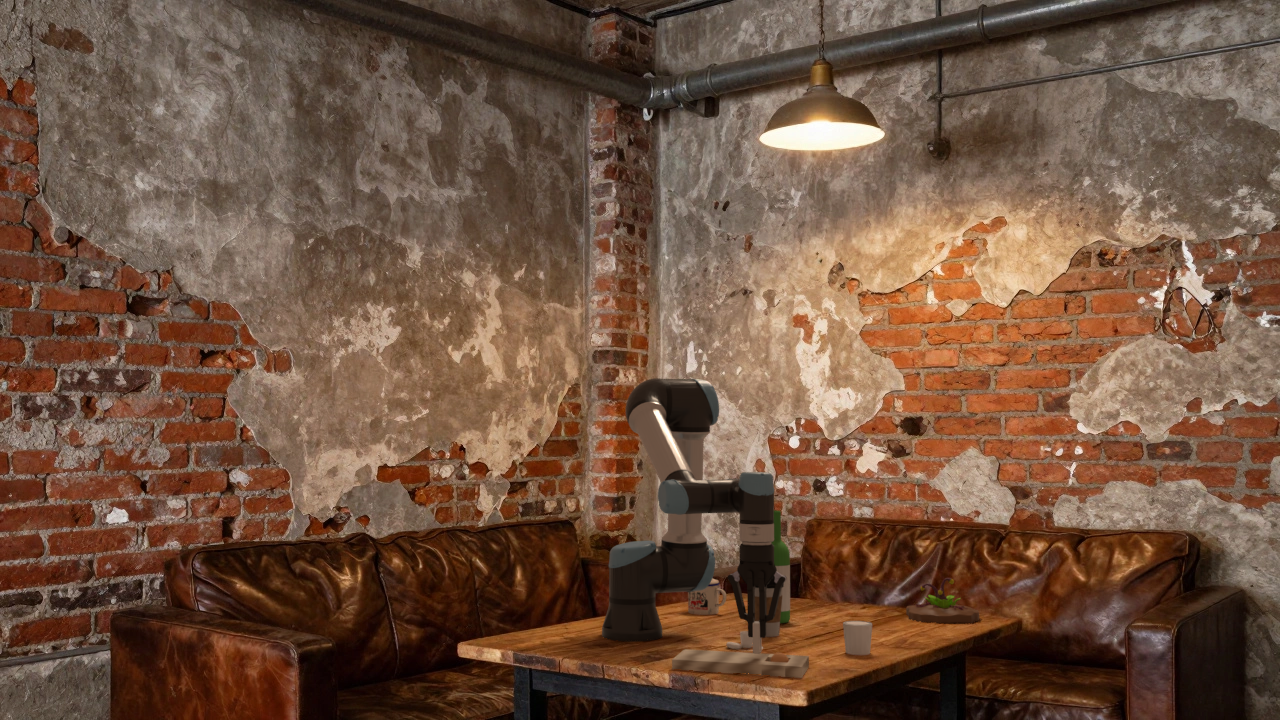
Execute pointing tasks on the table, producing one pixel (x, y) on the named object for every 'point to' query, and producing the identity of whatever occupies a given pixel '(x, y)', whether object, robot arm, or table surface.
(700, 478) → the robot arm
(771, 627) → the coffee cup
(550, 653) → the table surface
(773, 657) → the ball
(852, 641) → the white cup
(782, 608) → the wine bottle
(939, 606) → the plant
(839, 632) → the table surface
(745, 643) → the teacup and saucer
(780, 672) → the box with square hole
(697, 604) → the teacup with lid
